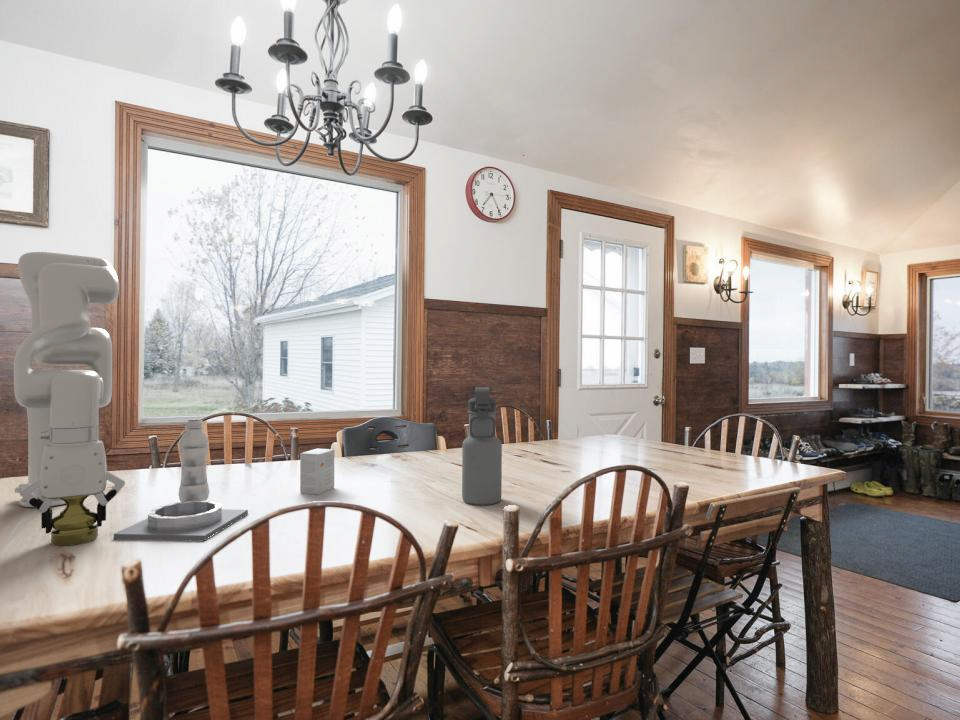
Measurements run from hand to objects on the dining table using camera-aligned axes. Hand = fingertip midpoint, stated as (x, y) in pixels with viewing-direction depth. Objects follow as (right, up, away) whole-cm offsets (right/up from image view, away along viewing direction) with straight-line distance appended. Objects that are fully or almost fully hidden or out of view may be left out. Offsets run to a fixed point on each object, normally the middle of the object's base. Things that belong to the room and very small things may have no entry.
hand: (74, 527), depth 106 cm
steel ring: (+16, -2, +9) cm, 19 cm away
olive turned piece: (0, -3, 0) cm, 3 cm away
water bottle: (+78, -3, +31) cm, 84 cm away
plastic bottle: (+9, -3, +27) cm, 28 cm away
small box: (+35, -3, +41) cm, 53 cm away
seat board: (+16, -2, +9) cm, 19 cm away
